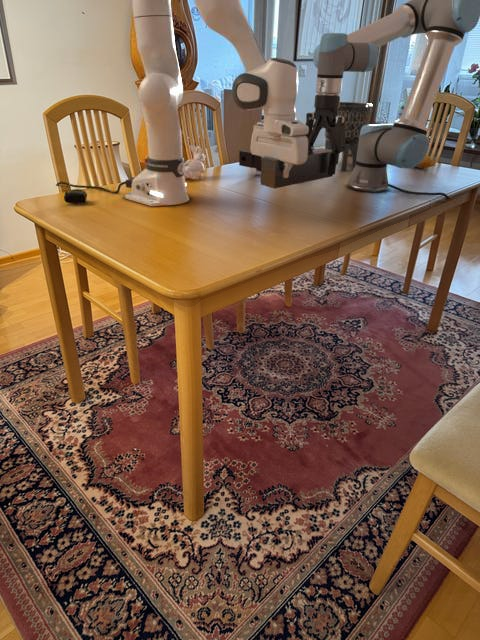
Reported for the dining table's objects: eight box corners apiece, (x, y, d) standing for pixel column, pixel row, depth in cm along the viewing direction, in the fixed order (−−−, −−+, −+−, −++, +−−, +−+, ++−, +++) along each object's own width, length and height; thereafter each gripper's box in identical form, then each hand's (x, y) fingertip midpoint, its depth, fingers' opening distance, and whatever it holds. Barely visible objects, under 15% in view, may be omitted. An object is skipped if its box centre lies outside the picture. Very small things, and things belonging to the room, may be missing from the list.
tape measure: (64, 205, 148) (62, 194, 146) (68, 199, 154) (66, 188, 152) (86, 205, 149) (84, 193, 147) (89, 199, 155) (87, 188, 153)
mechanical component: (240, 120, 182) (283, 115, 202) (239, 174, 192) (280, 164, 212) (283, 126, 170) (325, 120, 190) (280, 183, 180) (320, 171, 200)
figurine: (211, 176, 188) (211, 144, 182) (188, 183, 178) (187, 149, 171) (196, 173, 192) (195, 142, 186) (172, 180, 181) (170, 146, 175)
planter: (313, 167, 208) (319, 103, 195) (331, 160, 222) (338, 101, 209) (353, 173, 199) (362, 107, 185) (369, 166, 213) (379, 104, 199)
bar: (319, 173, 151) (321, 148, 147) (332, 176, 147) (335, 150, 143) (260, 184, 136) (261, 157, 132) (274, 188, 132) (275, 160, 128)
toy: (410, 161, 206) (404, 154, 219) (412, 175, 209) (406, 167, 222) (436, 153, 203) (428, 146, 216) (438, 167, 206) (430, 160, 219)
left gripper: (246, 121, 132) (245, 170, 139) (297, 130, 119) (293, 183, 126) (262, 120, 136) (260, 167, 143) (313, 128, 123) (308, 180, 130)
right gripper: (293, 92, 140) (287, 167, 151) (349, 97, 126) (339, 179, 137) (309, 91, 144) (302, 164, 156) (365, 96, 130) (354, 176, 142)
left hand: (276, 175), depth 134 cm, fingers closed on bar, 6 cm apart
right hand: (319, 171), depth 146 cm, fingers open, 9 cm apart
